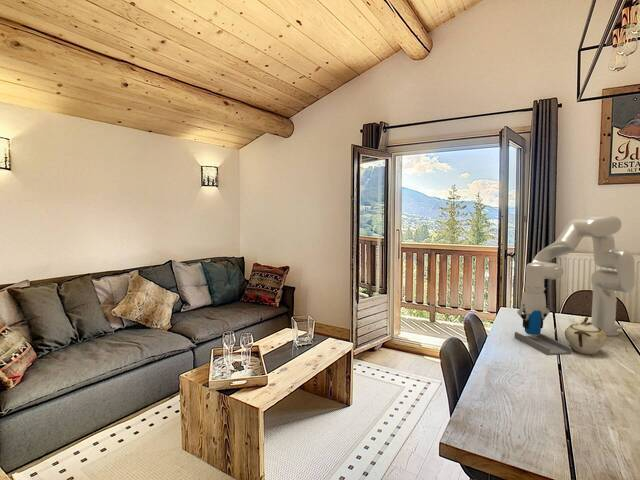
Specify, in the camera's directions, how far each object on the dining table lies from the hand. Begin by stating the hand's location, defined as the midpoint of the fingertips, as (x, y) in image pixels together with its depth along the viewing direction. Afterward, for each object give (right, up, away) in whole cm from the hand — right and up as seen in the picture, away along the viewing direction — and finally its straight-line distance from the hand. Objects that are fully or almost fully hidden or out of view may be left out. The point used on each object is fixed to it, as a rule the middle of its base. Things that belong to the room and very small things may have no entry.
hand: (532, 327), depth 174 cm
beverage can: (0, -3, 0) cm, 3 cm away
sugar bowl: (+16, -8, -12) cm, 21 cm away
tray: (+1, -7, -5) cm, 9 cm away
